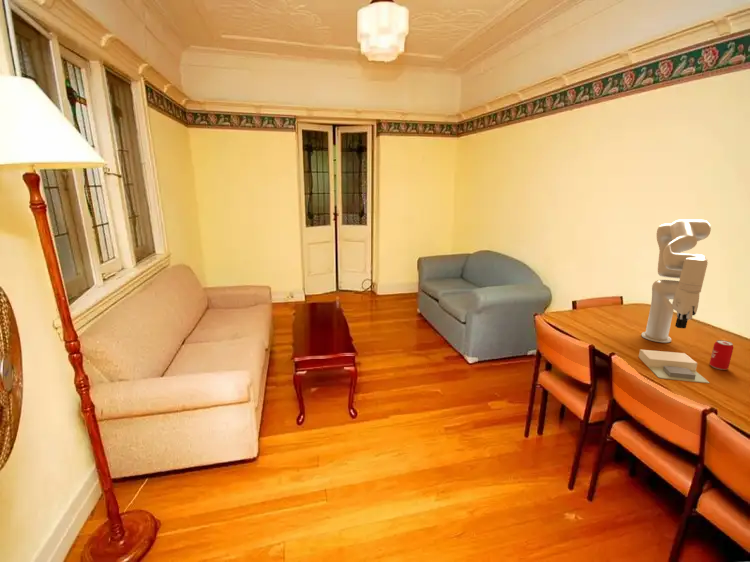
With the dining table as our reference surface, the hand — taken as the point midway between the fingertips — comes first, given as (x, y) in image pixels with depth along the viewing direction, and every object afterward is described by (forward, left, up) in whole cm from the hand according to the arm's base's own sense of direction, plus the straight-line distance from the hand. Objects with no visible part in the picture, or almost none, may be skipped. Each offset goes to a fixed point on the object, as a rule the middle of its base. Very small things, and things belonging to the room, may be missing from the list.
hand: (680, 327), depth 160 cm
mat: (+7, -1, -19) cm, 20 cm away
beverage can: (-5, +20, -19) cm, 28 cm away
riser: (-3, -1, -19) cm, 19 cm away
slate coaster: (+8, -1, -17) cm, 18 cm away
